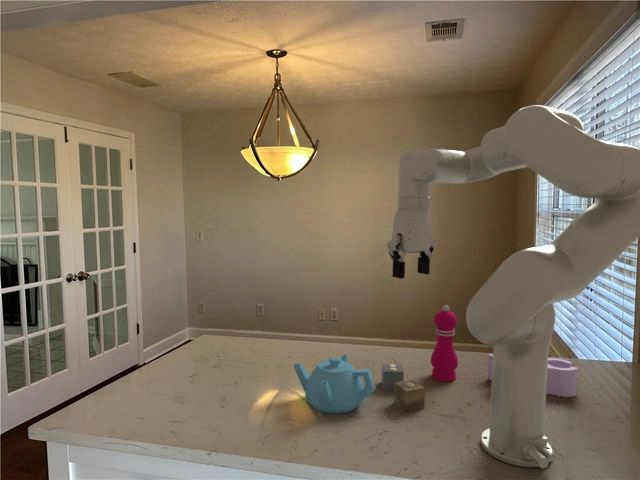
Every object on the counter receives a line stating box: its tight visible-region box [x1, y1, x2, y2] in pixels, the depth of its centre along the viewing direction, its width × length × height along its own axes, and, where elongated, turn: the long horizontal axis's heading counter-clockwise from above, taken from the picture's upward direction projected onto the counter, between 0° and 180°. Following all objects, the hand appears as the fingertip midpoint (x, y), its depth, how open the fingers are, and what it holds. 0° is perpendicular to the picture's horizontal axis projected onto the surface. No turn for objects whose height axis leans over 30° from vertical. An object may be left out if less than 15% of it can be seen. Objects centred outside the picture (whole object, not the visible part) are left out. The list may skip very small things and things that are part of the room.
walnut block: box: [393, 379, 426, 413], centre depth 101 cm, size 5×5×5 cm
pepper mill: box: [430, 304, 459, 382], centre depth 118 cm, size 7×7×20 cm
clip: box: [487, 353, 578, 398], centre depth 112 cm, size 20×12×7 cm, turn 78°
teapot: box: [293, 353, 377, 415], centre depth 102 cm, size 15×15×11 cm
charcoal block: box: [381, 363, 405, 391], centre depth 112 cm, size 5×5×5 cm
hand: (411, 275), depth 105 cm, fingers open, 9 cm apart
